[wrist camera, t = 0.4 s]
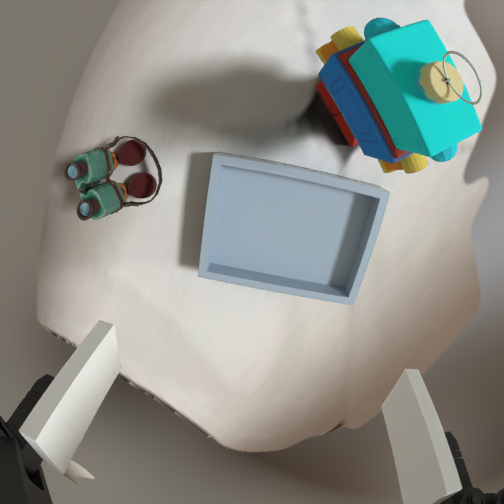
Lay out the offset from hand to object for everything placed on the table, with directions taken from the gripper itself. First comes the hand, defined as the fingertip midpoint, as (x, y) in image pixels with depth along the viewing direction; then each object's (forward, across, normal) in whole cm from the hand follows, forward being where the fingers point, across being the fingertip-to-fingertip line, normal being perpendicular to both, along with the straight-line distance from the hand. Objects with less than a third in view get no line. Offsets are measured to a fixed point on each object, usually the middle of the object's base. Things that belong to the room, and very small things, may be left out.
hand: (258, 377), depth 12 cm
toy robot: (+27, +7, +14) cm, 31 cm away
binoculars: (+27, -18, +3) cm, 33 cm away
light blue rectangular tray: (+26, +2, -2) cm, 26 cm away
